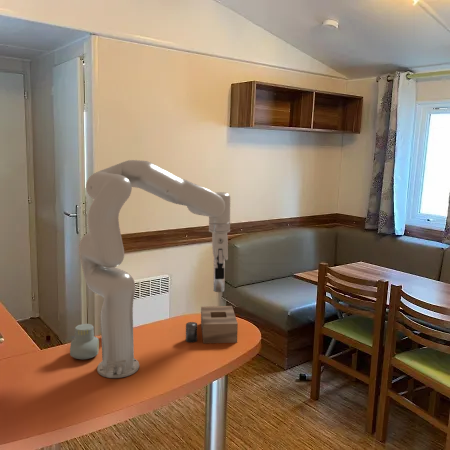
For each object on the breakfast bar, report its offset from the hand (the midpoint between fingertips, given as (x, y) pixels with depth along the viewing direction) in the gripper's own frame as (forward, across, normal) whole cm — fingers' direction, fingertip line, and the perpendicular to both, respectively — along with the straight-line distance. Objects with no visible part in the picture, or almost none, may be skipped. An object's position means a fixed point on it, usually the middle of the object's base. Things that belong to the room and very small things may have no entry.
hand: (219, 276), depth 170 cm
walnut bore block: (+21, 0, 0) cm, 21 cm away
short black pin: (+21, -6, +10) cm, 25 cm away
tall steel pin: (+5, 0, 0) cm, 5 cm away
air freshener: (+22, -16, +45) cm, 53 cm away
